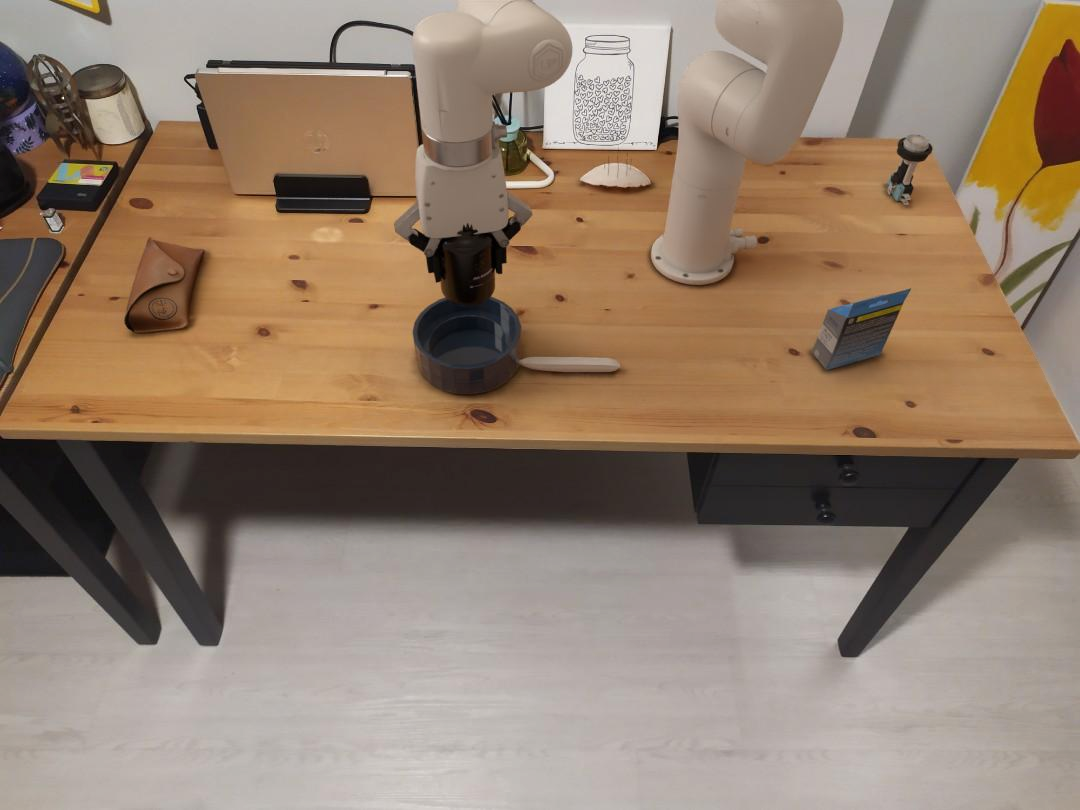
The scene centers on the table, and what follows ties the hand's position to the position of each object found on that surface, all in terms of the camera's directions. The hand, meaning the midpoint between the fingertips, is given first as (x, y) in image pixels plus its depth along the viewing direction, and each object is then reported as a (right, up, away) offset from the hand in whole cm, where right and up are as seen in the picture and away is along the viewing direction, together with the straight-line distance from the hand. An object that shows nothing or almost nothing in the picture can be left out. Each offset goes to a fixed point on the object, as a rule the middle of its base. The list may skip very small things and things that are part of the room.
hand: (467, 270), depth 99 cm
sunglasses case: (-46, 0, +20) cm, 50 cm away
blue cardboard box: (+51, -10, +13) cm, 54 cm away
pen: (+12, -2, +13) cm, 18 cm away
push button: (+69, +19, +38) cm, 81 cm away
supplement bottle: (0, -2, +2) cm, 3 cm away
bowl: (-1, -10, +11) cm, 15 cm away
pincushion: (+22, +21, +39) cm, 50 cm away
